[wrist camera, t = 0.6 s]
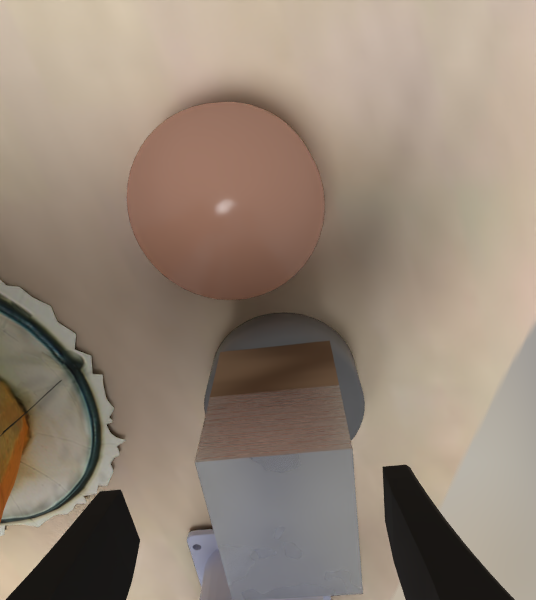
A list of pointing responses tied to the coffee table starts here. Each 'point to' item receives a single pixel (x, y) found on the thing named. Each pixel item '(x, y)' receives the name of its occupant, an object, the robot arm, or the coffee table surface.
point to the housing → (281, 474)
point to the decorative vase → (47, 416)
